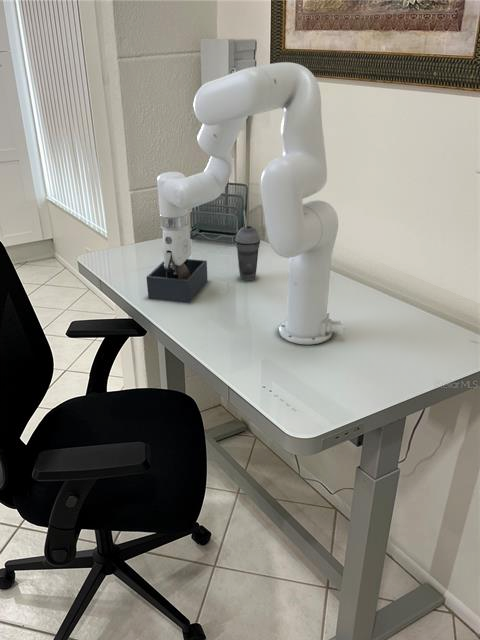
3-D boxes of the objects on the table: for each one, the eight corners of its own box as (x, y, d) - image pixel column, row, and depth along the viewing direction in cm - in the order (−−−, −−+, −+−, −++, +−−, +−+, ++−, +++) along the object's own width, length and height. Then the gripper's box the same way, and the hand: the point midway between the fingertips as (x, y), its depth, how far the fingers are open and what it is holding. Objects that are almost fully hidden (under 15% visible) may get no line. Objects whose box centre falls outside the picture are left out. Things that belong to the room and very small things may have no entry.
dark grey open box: (207, 281, 174) (206, 260, 170) (189, 303, 162) (188, 280, 158) (168, 278, 178) (167, 257, 174) (148, 298, 166) (146, 276, 162)
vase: (190, 292, 166) (188, 262, 161) (166, 293, 166) (163, 264, 162) (190, 282, 172) (189, 254, 167) (167, 284, 172) (165, 255, 168)
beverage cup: (251, 285, 170) (251, 216, 159) (230, 280, 174) (229, 212, 163) (264, 276, 175) (265, 209, 164) (244, 272, 179) (243, 206, 168)
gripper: (175, 231, 151) (179, 295, 160) (198, 212, 164) (200, 272, 174) (148, 229, 153) (154, 293, 163) (173, 210, 167) (177, 270, 176)
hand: (178, 281), depth 168 cm, fingers closed on vase, 7 cm apart
